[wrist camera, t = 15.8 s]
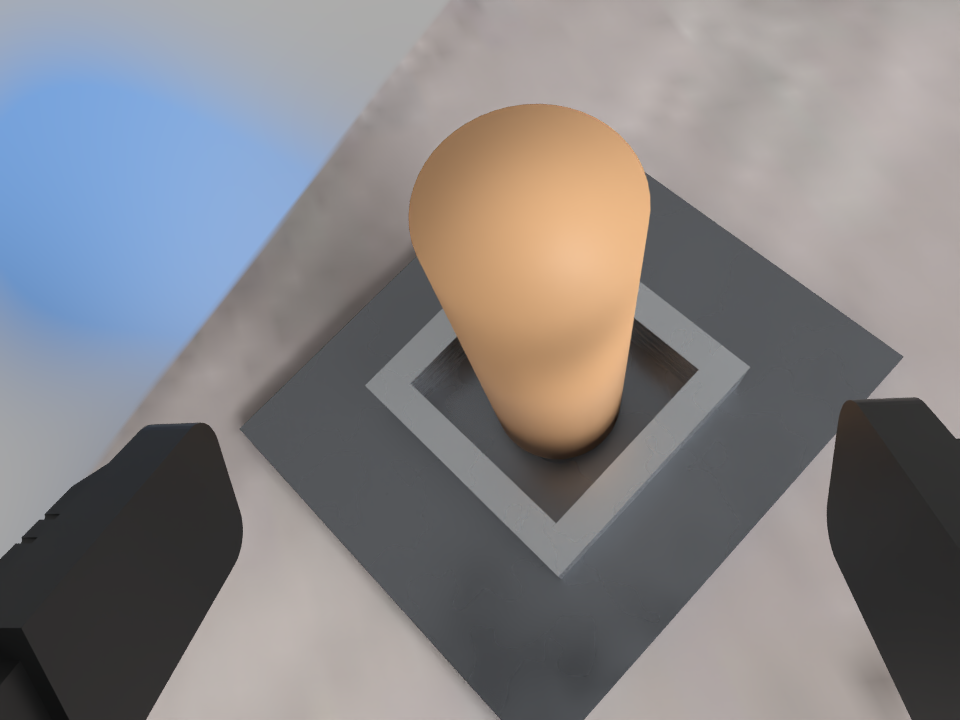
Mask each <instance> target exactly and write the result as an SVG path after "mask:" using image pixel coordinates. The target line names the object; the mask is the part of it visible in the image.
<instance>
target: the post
mask: <svg viewBox="0 0 960 720" xmlns="http://www.w3.org/2000/svg"><path fill="white" fill-rule="evenodd" d="M649 217H650V192H649V186H648V181H647V178H646V175H645V172H644V169H643V167H642V165H641V163H640V161H639V159H638V157H637V155H636V154H635V153H634V151H633V150H632V148H631V147H630V146H629V144H628V143H627V142H626V141H625V140H624V139H623V138H622V137H621V136H620V135H619V134H618V133H617V132H616V131H614V130H613V129H612V128H611V127H609V126H608V125H606V124H605V123H603V122H602V121H600V120H598V119H597V118H595V117H592V116H590V115H588V114H586V113H583V112H581V111H578V110H574V109H571V108H567V107H562V106H557V105H547V104H525V105H517V106H511V107H506V108H502V109H499V110H495V111H492V112H490V113H487V114H484V115H482V116H479V117H478V118H476V119H474V120H472V121H470V122H468V123H466V124H465V125H463V126H462V127H460V128H459V129H457V130H456V131H454V132H453V133H452V134H451V135H450V136H448V137H447V138H446V139H445V140H444V141H443V142H442V143H441V144H440V145H439V146H438V147H437V148H436V149H435V150H434V151H433V153H432V154H431V155H430V157H429V158H428V160H427V161H426V162H425V164H424V166H423V168H422V169H421V171H420V173H419V175H418V177H417V180H416V182H415V185H414V187H413V191H412V195H411V199H410V206H409V230H410V236H411V241H412V244H413V247H414V250H415V253H416V256H417V258H418V260H419V262H420V264H421V266H422V268H423V270H424V272H425V274H426V276H427V278H428V280H429V282H430V284H431V286H432V288H433V290H434V292H435V294H436V296H437V298H438V300H439V302H440V304H441V306H442V308H443V310H444V312H445V314H446V316H447V318H448V320H449V322H450V324H451V326H452V328H453V330H454V332H455V334H456V336H457V338H458V340H459V342H460V344H461V346H462V348H463V350H464V352H465V354H466V356H467V358H468V360H469V362H470V364H471V366H472V368H473V370H474V372H475V374H476V376H477V378H478V380H479V382H480V384H481V386H482V388H483V390H484V392H485V394H486V396H487V398H488V400H489V402H490V404H491V406H492V408H493V410H494V412H495V414H496V416H497V418H498V420H499V422H500V423H501V425H502V427H503V429H504V431H505V432H506V434H507V435H508V436H509V437H510V439H511V440H512V441H513V442H514V443H515V444H517V445H518V446H519V447H520V448H522V449H524V450H525V451H527V452H529V453H531V454H533V455H536V456H539V457H542V458H548V459H568V458H573V457H577V456H579V455H582V454H585V453H587V452H588V451H590V450H592V449H593V448H595V447H596V446H598V445H599V444H600V443H601V442H602V441H603V440H604V439H605V438H606V437H607V436H608V434H609V433H610V432H611V430H612V428H613V427H614V425H615V423H616V420H617V418H618V415H619V411H620V405H621V399H622V392H623V386H624V379H625V373H626V366H627V360H628V353H629V347H630V341H631V334H632V328H633V321H634V315H635V308H636V302H637V295H638V289H639V283H640V276H641V270H642V263H643V257H644V250H645V244H646V238H647V231H648V225H649Z"/></svg>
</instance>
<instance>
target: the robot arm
mask: <svg viewBox="0 0 960 720" xmlns="http://www.w3.org/2000/svg"><path fill="white" fill-rule="evenodd" d="M827 526H828V534H829V539H830V544H831V548H832V551H833V554H834V557H835V559H836V561H837V563H838V565H839V568H840V570H841V572H842V574H843V576H844V578H845V580H846V582H847V584H848V587H849V589H850V591H851V593H852V595H853V597H854V599H855V601H856V603H857V605H858V608H859V610H860V612H861V614H862V616H863V618H864V620H865V622H866V624H867V627H868V629H869V631H870V633H871V635H872V637H873V639H874V641H875V643H876V645H877V648H878V650H879V652H880V654H881V656H882V658H883V660H884V662H885V664H886V667H887V669H888V671H889V673H890V675H891V677H892V679H893V681H894V683H895V685H896V688H897V690H898V692H899V694H900V696H901V698H902V700H903V702H904V704H905V707H906V709H907V711H908V713H909V715H910V717H911V719H912V720H960V439H956V438H955V437H954V436H953V435H952V434H951V433H950V432H949V430H948V429H947V428H946V427H945V426H944V425H943V423H942V422H941V421H940V420H939V419H938V418H937V417H936V415H935V414H934V413H933V412H932V411H931V410H930V409H929V407H928V406H927V405H926V404H925V403H924V402H923V401H922V400H920V399H919V398H915V397H913V398H886V399H859V400H847V401H846V402H845V403H844V404H843V406H842V408H841V411H840V414H839V419H838V426H837V434H836V441H835V449H834V457H833V464H832V472H831V479H830V487H829V495H828V502H827ZM242 536H243V525H242V517H241V513H240V510H239V507H238V503H237V500H236V497H235V494H234V491H233V487H232V484H231V481H230V478H229V475H228V471H227V468H226V465H225V462H224V459H223V455H222V452H221V449H220V446H219V443H218V440H217V437H216V435H215V433H214V431H213V430H212V428H211V427H210V426H209V425H207V424H205V423H181V424H155V425H148V426H146V427H144V428H143V429H141V430H140V431H139V432H138V433H137V434H136V435H135V436H134V437H133V438H132V440H131V441H130V442H129V443H128V444H127V445H126V446H125V447H124V448H123V449H122V450H121V451H120V452H119V453H118V454H117V455H116V456H115V457H114V458H113V459H112V460H111V461H110V462H109V463H108V464H107V465H105V466H103V467H102V468H100V469H99V470H97V471H96V472H94V473H93V474H91V475H89V476H88V477H86V478H85V479H83V480H82V481H80V482H78V483H77V484H75V485H74V486H72V487H71V488H70V489H69V490H68V491H67V492H66V493H65V494H64V495H63V496H62V497H61V498H60V499H59V500H58V501H57V502H56V504H54V505H53V506H52V507H51V509H49V510H48V512H46V514H45V519H44V520H39V521H38V522H37V523H36V524H35V525H34V526H33V527H32V528H31V529H30V530H29V531H28V532H27V533H26V534H25V535H24V536H23V537H22V542H21V544H15V545H14V546H13V547H12V548H11V549H10V550H9V551H8V552H7V553H6V554H5V555H4V556H3V557H2V558H1V559H0V720H146V718H147V717H148V715H149V713H150V711H151V710H152V708H153V706H154V705H155V703H156V701H157V699H158V698H159V696H160V694H161V692H162V691H163V689H164V687H165V685H166V684H167V682H168V680H169V678H170V677H171V675H172V673H173V671H174V670H175V668H176V666H177V664H178V663H179V661H180V659H181V657H182V656H183V654H184V652H185V650H186V649H187V647H188V645H189V643H190V642H191V640H192V638H193V636H194V635H195V633H196V631H197V629H198V628H199V626H200V624H201V622H202V621H203V619H204V617H205V615H206V614H207V612H208V610H209V608H210V607H211V605H212V603H213V601H214V600H215V598H216V596H217V594H218V593H219V591H220V589H221V588H222V586H223V584H224V582H225V581H226V579H227V577H228V575H229V574H230V572H231V570H232V568H233V567H234V565H235V563H236V561H237V559H238V556H239V553H240V549H241V544H242Z"/></svg>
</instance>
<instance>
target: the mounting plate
mask: <svg viewBox="0 0 960 720" xmlns="http://www.w3.org/2000/svg"><path fill="white" fill-rule="evenodd" d="M645 175H646V178H647V181H648V186H649V192H650V217H649V225H648V231H647V238H646V244H645V250H644V257H643V263H642V270H641V276H640V283H639V289H638V295H637V302H636V308H635V315H634V321H633V328H632V334H631V341H630V347H629V353H628V360H627V366H626V373H625V379H624V386H623V392H622V399H621V405H620V411H619V415H618V418H617V420H616V423H615V425H614V427H613V428H612V430H611V432H610V433H609V434H608V436H607V437H606V438H605V439H604V440H603V441H602V442H601V443H600V444H599V445H598V446H596V447H595V448H593V449H592V450H590V451H588V452H587V453H585V454H582V455H579V456H577V457H573V458H568V459H548V458H542V457H539V456H536V455H533V454H531V453H529V452H527V451H525V450H524V449H522V448H520V447H519V446H518V445H517V444H515V443H514V442H513V441H512V440H511V439H510V437H509V436H508V435H507V434H506V432H505V431H504V429H503V427H502V425H501V423H500V422H499V420H498V418H497V416H496V414H495V412H494V410H493V408H492V406H491V404H490V402H489V400H488V398H487V396H486V394H485V392H484V390H483V388H482V386H481V384H480V382H479V380H478V378H477V376H476V374H475V372H474V370H473V368H472V366H471V364H470V362H469V360H468V358H467V356H466V354H465V352H464V350H463V348H462V346H461V344H460V342H459V340H458V338H457V336H456V334H455V332H454V330H453V328H452V326H451V324H450V322H449V320H448V318H447V316H446V314H445V312H444V310H443V308H442V306H441V304H440V302H439V300H438V298H437V296H436V294H435V292H434V290H433V288H432V286H431V284H430V282H429V280H428V278H427V276H426V274H425V272H424V270H423V268H422V266H421V264H420V262H419V260H418V258H417V256H416V257H415V258H414V259H413V260H412V261H411V262H410V263H409V264H408V265H407V266H406V267H405V268H404V269H403V270H402V271H401V272H400V273H399V274H398V275H397V276H396V277H395V278H394V279H393V280H392V281H391V282H390V283H389V284H388V285H387V286H386V287H385V288H384V289H383V290H381V291H380V292H379V293H378V294H377V295H376V296H375V297H374V298H373V299H372V300H371V301H370V302H369V303H368V304H367V305H366V306H365V307H364V308H363V309H362V310H361V311H360V312H359V313H358V314H357V315H356V316H355V317H354V318H353V319H352V320H351V321H350V322H349V323H348V324H347V325H346V326H345V327H344V328H343V329H341V330H340V331H339V332H338V333H337V334H336V335H335V336H334V337H333V338H332V339H331V340H330V341H329V342H328V343H327V344H326V345H325V346H324V347H323V348H322V349H321V350H320V351H319V352H318V353H317V354H316V355H315V356H314V357H313V358H312V359H311V360H310V361H309V362H308V363H307V364H306V365H305V366H304V367H303V368H302V369H300V370H299V371H298V372H297V373H296V374H295V375H294V376H293V377H292V378H291V379H290V380H289V381H288V382H287V383H286V384H285V385H284V386H283V387H282V388H281V389H280V390H279V391H278V392H277V393H276V394H275V395H274V396H273V397H272V398H271V399H270V400H269V401H268V402H267V403H266V404H265V405H264V406H263V407H262V408H260V409H259V410H258V411H257V412H256V413H255V414H254V415H253V416H252V417H251V418H250V419H249V420H248V421H247V422H246V423H245V424H244V425H243V426H242V427H241V428H240V430H241V431H242V432H243V433H244V434H245V436H246V437H247V438H248V439H249V440H250V441H251V442H252V443H253V444H254V446H255V447H256V448H257V449H258V450H259V451H260V452H261V453H262V454H263V456H264V457H265V458H266V459H267V460H268V461H269V462H270V463H271V464H272V466H273V467H274V468H275V469H276V470H277V471H278V472H279V473H280V474H281V476H282V477H283V478H284V479H285V480H286V481H287V482H288V483H289V484H290V486H291V487H292V488H293V489H294V490H295V491H296V492H297V493H298V494H299V496H300V497H301V498H302V499H303V500H304V501H305V502H306V503H307V504H308V506H309V507H310V508H311V509H312V510H313V511H314V512H315V513H316V514H317V516H318V517H319V518H320V519H321V520H322V521H323V522H324V523H325V524H326V526H327V527H328V528H329V529H330V530H331V531H332V532H333V533H334V535H335V536H336V537H337V538H338V539H339V540H340V541H341V542H342V543H343V545H344V546H345V547H346V548H347V549H348V550H349V551H350V552H351V553H352V555H353V556H354V557H355V558H356V559H357V560H358V561H359V562H360V563H361V565H362V566H363V567H364V568H365V569H366V570H367V571H368V572H369V573H370V575H371V576H372V577H373V578H374V579H375V580H376V581H377V582H378V583H379V585H380V586H381V587H382V588H383V589H384V590H385V591H386V592H387V593H388V595H389V596H390V597H391V598H392V599H393V600H394V601H395V602H396V603H397V605H398V606H399V607H400V608H401V609H402V610H403V611H404V612H405V613H406V615H407V616H408V617H409V618H410V619H411V620H412V621H413V622H414V623H415V625H416V626H417V627H418V628H419V629H420V630H421V631H422V632H423V633H424V635H425V636H426V637H427V638H428V639H429V640H430V641H431V642H432V643H433V645H434V646H435V647H436V648H437V649H438V650H439V651H440V652H441V654H442V655H443V656H444V657H445V658H446V659H447V660H448V661H449V662H450V664H451V665H452V666H453V667H454V668H455V669H456V670H457V671H458V672H459V674H460V675H461V676H462V677H463V678H464V679H465V680H466V681H467V682H468V684H469V685H470V686H471V687H472V688H473V689H474V690H475V691H476V692H477V694H478V695H479V696H480V697H481V698H482V699H483V700H484V701H485V702H486V704H487V705H488V706H489V707H490V708H491V709H492V710H493V711H494V712H495V714H496V715H497V716H498V717H499V718H500V719H501V720H584V719H585V718H586V717H587V715H588V714H589V713H590V712H591V711H592V710H593V709H594V708H595V706H596V705H597V704H598V703H599V702H600V701H601V700H602V698H603V697H604V696H605V695H606V694H607V693H608V692H609V691H610V689H611V688H612V687H613V686H614V685H615V684H616V683H617V681H618V680H619V679H620V678H621V677H622V676H623V675H624V673H625V672H626V671H627V670H628V669H629V668H630V667H631V666H632V664H633V663H634V662H635V661H636V660H637V659H638V658H639V656H640V655H641V654H642V653H643V652H644V651H645V650H646V649H647V647H648V646H649V645H650V644H651V643H652V642H653V641H654V639H655V638H656V637H657V636H658V635H659V634H660V633H661V631H662V630H663V629H664V628H665V627H666V626H667V625H668V624H669V622H670V621H671V620H672V619H673V618H674V617H675V616H676V614H677V613H678V612H679V611H680V610H681V609H682V608H683V607H684V605H685V604H686V603H687V602H688V601H689V600H690V599H691V597H692V596H693V595H694V594H695V593H696V592H697V591H698V589H699V588H700V587H701V586H702V585H703V584H704V583H705V582H706V580H707V579H708V578H709V577H710V576H711V575H712V574H713V572H714V571H715V570H716V569H717V568H718V567H719V566H720V565H721V563H722V562H723V561H724V560H725V559H726V558H727V557H728V555H729V554H730V553H731V552H732V551H733V550H734V549H735V548H736V546H737V545H738V544H739V543H740V542H741V541H742V540H743V538H744V537H745V536H746V535H747V534H748V533H749V532H750V530H751V529H752V528H753V527H754V526H755V525H756V524H757V523H758V521H759V520H760V519H761V518H762V517H763V516H764V515H765V513H766V512H767V511H768V510H769V509H770V508H771V507H772V506H773V504H774V503H775V502H776V501H777V500H778V499H779V498H780V496H781V495H782V494H783V493H784V492H785V491H786V490H787V488H788V487H789V486H790V485H791V484H792V483H793V482H794V481H795V479H796V478H797V477H798V476H799V475H800V474H801V473H802V471H803V470H804V469H805V468H806V467H807V466H808V465H809V464H810V462H811V461H812V460H813V459H814V458H815V457H816V456H817V454H818V453H819V452H820V451H821V450H822V449H823V448H824V446H825V445H826V444H827V443H828V442H829V441H830V440H831V439H832V437H833V436H834V435H835V434H836V433H837V426H838V419H839V414H840V411H841V408H842V406H843V404H844V403H845V402H846V401H847V400H859V399H867V398H868V397H869V395H870V394H871V393H872V392H873V391H874V390H875V389H876V387H877V386H878V385H879V384H880V383H881V382H882V381H883V380H884V378H885V377H886V376H887V375H888V374H889V373H890V372H891V370H892V369H893V368H894V367H895V366H896V365H897V364H898V362H899V361H900V360H901V359H902V358H903V356H902V355H900V354H899V353H898V352H896V351H895V350H893V349H892V348H891V347H889V346H888V345H886V344H885V343H884V342H882V341H881V340H879V339H878V338H877V337H875V336H874V335H872V334H871V333H870V332H868V331H867V330H865V329H864V328H863V327H861V326H860V325H858V324H857V323H856V322H854V321H853V320H851V319H850V318H849V317H847V316H846V315H844V314H843V313H842V312H840V311H839V310H837V309H836V308H834V307H833V306H832V305H830V304H829V303H827V302H826V301H825V300H823V299H822V298H820V297H819V296H818V295H816V294H815V293H813V292H812V291H811V290H809V289H808V288H806V287H805V286H804V285H802V284H801V283H799V282H798V281H797V280H795V279H794V278H792V277H791V276H790V275H788V274H787V273H785V272H784V271H783V270H781V269H780V268H778V267H777V266H776V265H774V264H773V263H771V262H770V261H769V260H767V259H766V258H764V257H763V256H762V255H760V254H759V253H757V252H756V251H755V250H753V249H752V248H750V247H749V246H748V245H746V244H745V243H743V242H742V241H741V240H739V239H738V238H736V237H735V236H733V235H732V234H731V233H729V232H728V231H726V230H725V229H724V228H722V227H721V226H719V225H718V224H717V223H715V222H714V221H712V220H711V219H710V218H708V217H707V216H705V215H704V214H703V213H701V212H700V211H698V210H697V209H696V208H694V207H693V206H691V205H690V204H689V203H687V202H686V201H684V200H683V199H682V198H680V197H679V196H677V195H676V194H675V193H673V192H672V191H670V190H669V189H668V188H666V187H665V186H663V185H662V184H661V183H659V182H658V181H656V180H655V179H654V178H652V177H651V176H649V175H648V174H647V173H645Z"/></svg>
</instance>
